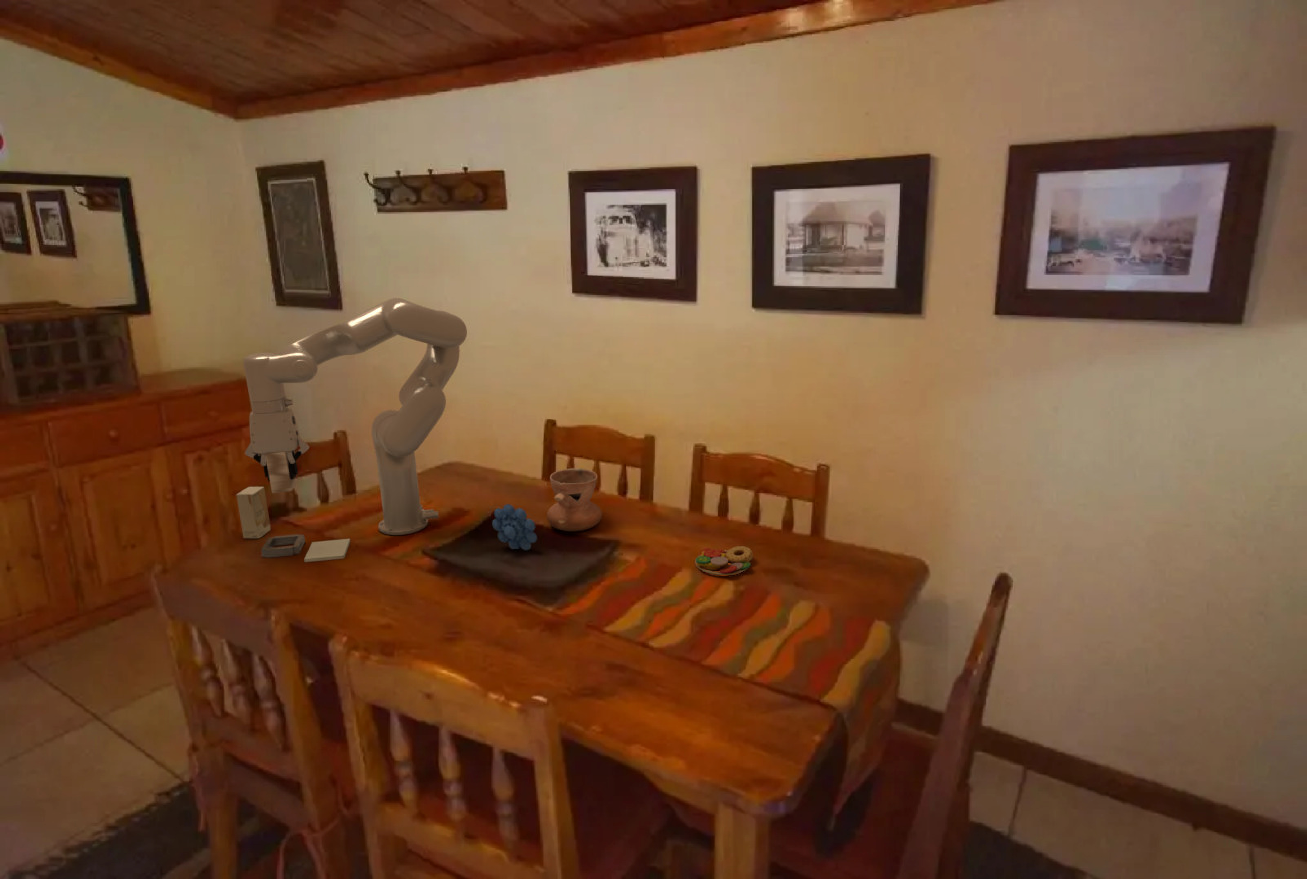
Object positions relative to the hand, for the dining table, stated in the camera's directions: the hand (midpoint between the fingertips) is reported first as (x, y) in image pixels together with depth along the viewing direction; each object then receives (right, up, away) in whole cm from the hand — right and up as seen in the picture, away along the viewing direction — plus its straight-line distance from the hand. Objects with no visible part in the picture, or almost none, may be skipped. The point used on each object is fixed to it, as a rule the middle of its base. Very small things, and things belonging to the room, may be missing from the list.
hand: (282, 477), depth 186 cm
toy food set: (+107, -21, -5) cm, 109 cm away
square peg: (0, -3, +1) cm, 3 cm away
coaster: (+9, -19, +4) cm, 21 cm away
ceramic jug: (+69, -14, +19) cm, 73 cm away
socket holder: (-2, -18, +6) cm, 19 cm away
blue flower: (+56, -19, +3) cm, 59 cm away
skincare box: (-14, -16, +15) cm, 26 cm away
